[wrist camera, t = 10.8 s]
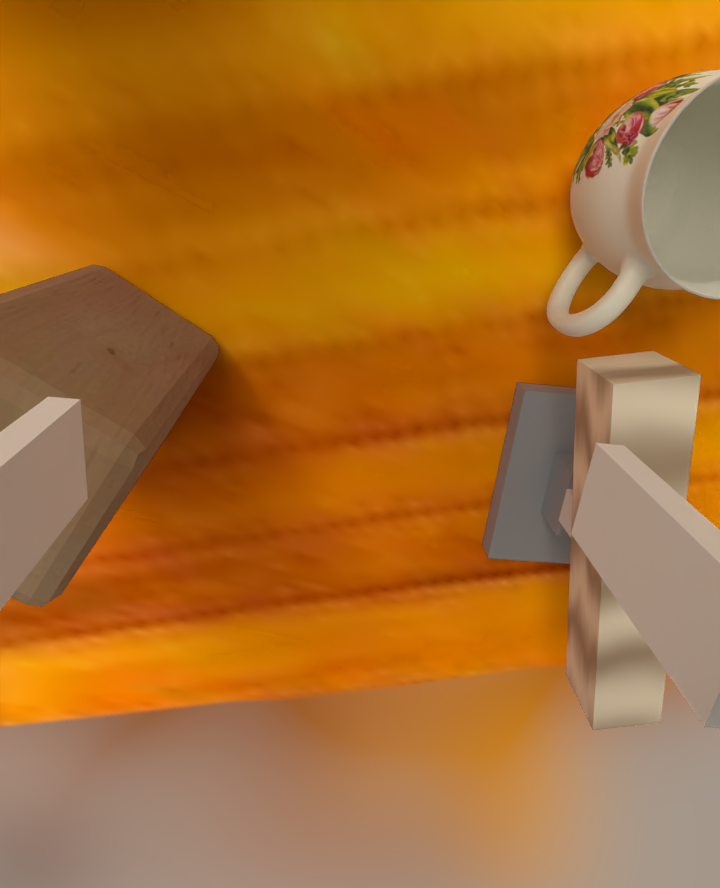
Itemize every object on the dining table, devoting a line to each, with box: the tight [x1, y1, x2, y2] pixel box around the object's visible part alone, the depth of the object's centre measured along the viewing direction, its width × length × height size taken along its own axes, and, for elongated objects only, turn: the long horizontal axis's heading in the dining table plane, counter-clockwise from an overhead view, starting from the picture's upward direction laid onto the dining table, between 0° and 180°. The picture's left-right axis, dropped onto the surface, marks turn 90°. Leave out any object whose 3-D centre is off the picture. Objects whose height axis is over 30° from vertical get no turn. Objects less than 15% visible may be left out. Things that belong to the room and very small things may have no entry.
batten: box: [566, 351, 701, 730], centre depth 38 cm, size 24×4×5 cm, turn 6°
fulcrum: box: [482, 382, 576, 564], centre depth 44 cm, size 14×10×8 cm
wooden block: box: [0, 265, 219, 607], centre depth 34 cm, size 10×10×20 cm
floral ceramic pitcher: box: [546, 70, 720, 337], centre depth 34 cm, size 11×18×14 cm, turn 142°
